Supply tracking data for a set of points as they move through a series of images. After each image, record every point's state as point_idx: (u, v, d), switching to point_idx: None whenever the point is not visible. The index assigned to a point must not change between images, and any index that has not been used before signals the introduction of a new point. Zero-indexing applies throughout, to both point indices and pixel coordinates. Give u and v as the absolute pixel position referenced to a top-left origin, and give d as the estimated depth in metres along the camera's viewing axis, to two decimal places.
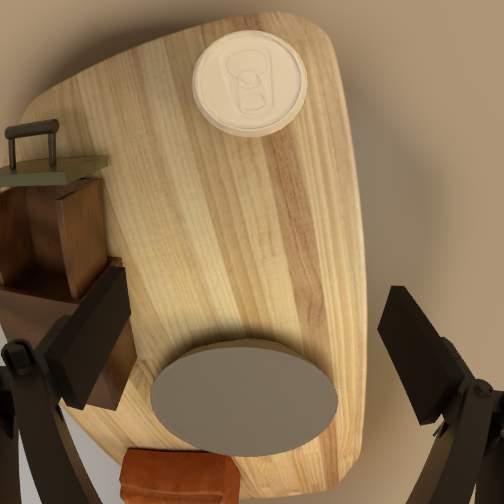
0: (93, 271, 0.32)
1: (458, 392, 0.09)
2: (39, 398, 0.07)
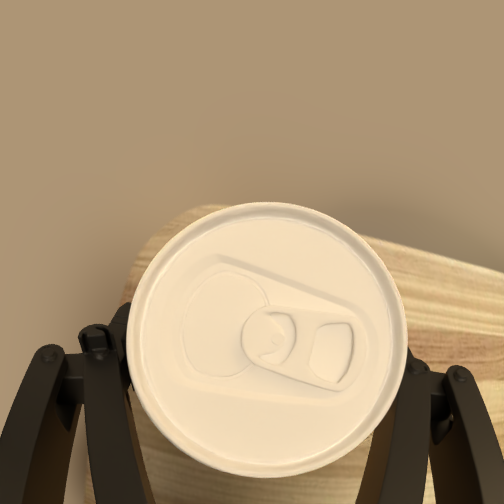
0: None
1: None
2: (112, 386, 0.08)
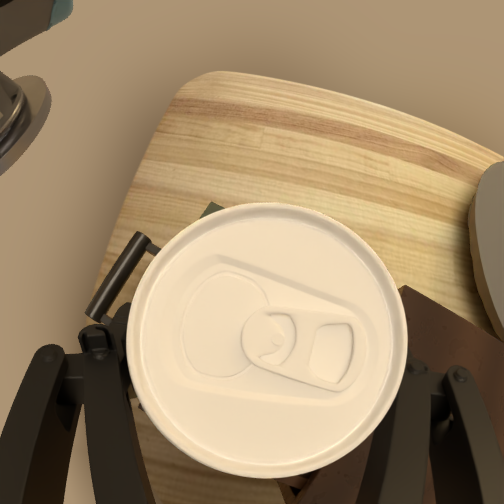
0: None
1: None
2: (112, 386, 0.08)
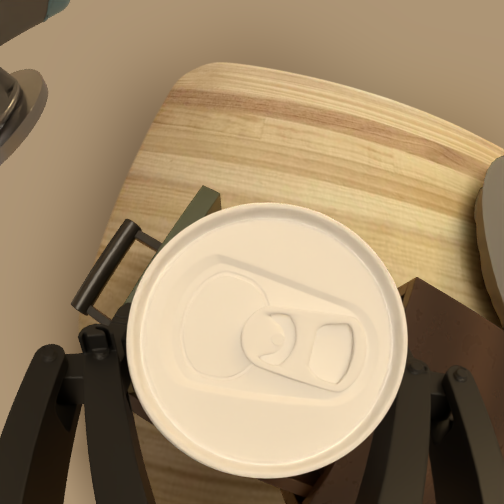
0: None
1: None
2: (112, 385, 0.08)
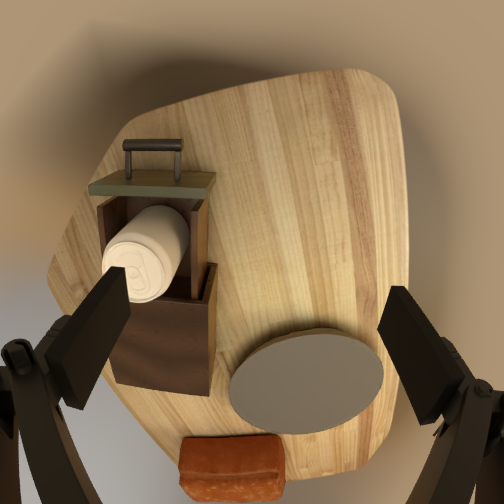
0: (203, 271, 0.41)
1: (458, 392, 0.09)
2: (39, 398, 0.07)
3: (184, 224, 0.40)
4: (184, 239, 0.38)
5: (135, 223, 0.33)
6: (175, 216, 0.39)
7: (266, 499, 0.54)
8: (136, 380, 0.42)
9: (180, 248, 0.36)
